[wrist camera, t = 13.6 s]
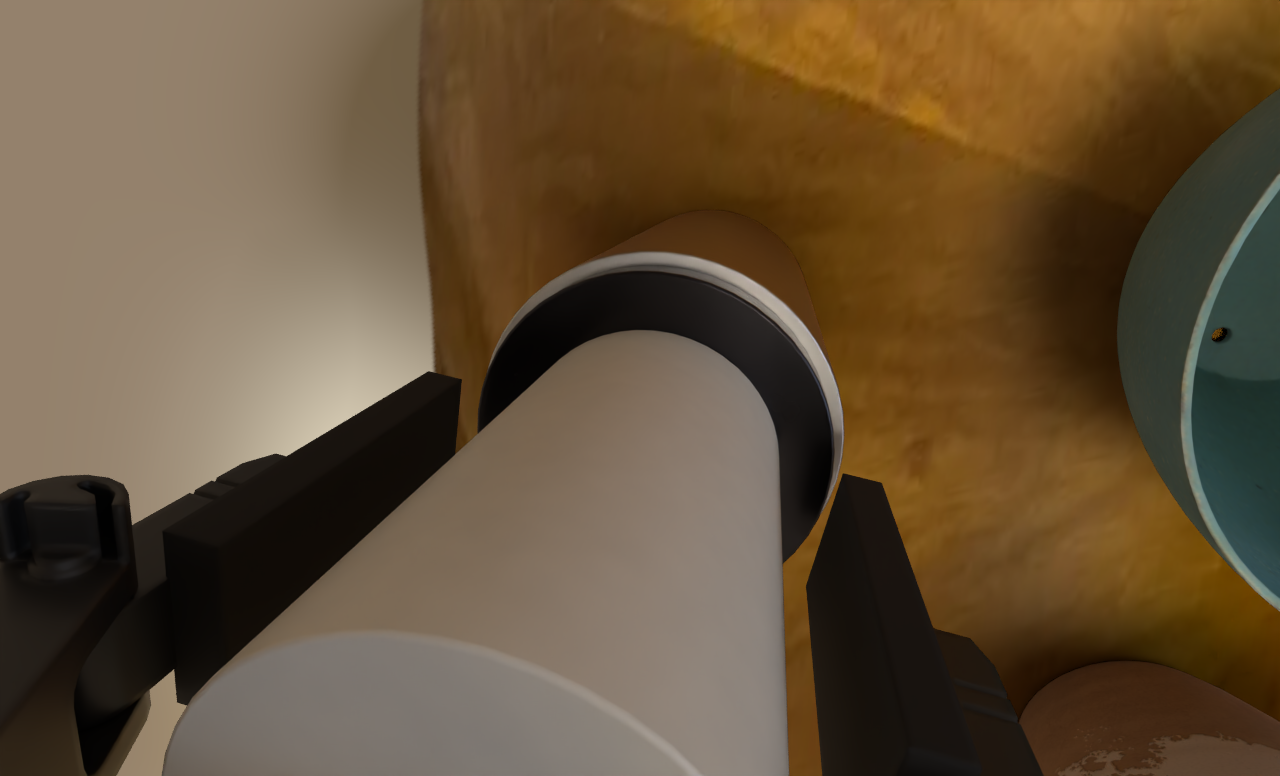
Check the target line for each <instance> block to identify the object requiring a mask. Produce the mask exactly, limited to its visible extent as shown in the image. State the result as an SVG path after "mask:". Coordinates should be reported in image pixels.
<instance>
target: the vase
mask: <svg viewBox="0 0 1280 776" xmlns="http://www.w3.org/2000/svg"><path fill="white" fill-rule="evenodd" d="M1019 724H1021V726H1022V728H1023V731H1024V733H1025V735H1026V737H1027V740H1028V742H1029V744H1030V746H1031V748H1032V751H1033V753H1034V755H1035V757H1036V760H1037V762H1038V764H1039V766H1040V768H1041V771H1042V773H1043V775H1044V776H1280V722H1279V721H1277V720H1275V719H1274V718H1272V717H1270V716H1268V715H1267V714H1265V713H1263V712H1261V711H1259V710H1258V709H1256V708H1254V707H1252V706H1251V705H1249V704H1247V703H1245V702H1243V701H1242V700H1240V699H1238V698H1236V697H1235V696H1233V695H1231V694H1229V693H1227V692H1226V691H1224V690H1222V689H1220V688H1218V687H1215V686H1213V685H1211V684H1209V683H1207V682H1205V681H1202V680H1200V679H1198V678H1196V677H1194V676H1191V675H1189V674H1187V673H1185V672H1182V671H1179V670H1176V669H1173V668H1170V667H1167V666H1163V665H1159V664H1154V663H1148V662H1140V661H1111V662H1104V663H1098V664H1092V665H1089V666H1085V667H1082V668H1078V669H1075V670H1073V671H1071V672H1068V673H1066V674H1064V675H1061V676H1060V677H1058V678H1056V679H1055V680H1053V681H1051V682H1050V683H1048V684H1047V685H1046V686H1045V687H1043V688H1042V689H1041V690H1040V691H1038V692H1037V693H1036V695H1035V696H1034V697H1033V698H1032V699H1031V700H1030V701H1029V703H1028V704H1027V706H1026V708H1025V709H1024V711H1023V713H1022V715H1021V718H1020V721H1019Z"/></svg>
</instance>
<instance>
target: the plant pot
mask: <svg viewBox="0 0 1280 776" xmlns="http://www.w3.org/2000/svg"><path fill="white" fill-rule="evenodd" d="M1219 328H1225V329H1227V331H1228V332H1227V336H1226V337H1225V338H1224V339H1223V340H1222V341H1218V342H1214V341H1213V340H1212V334H1213V333H1214V331H1215V330H1216V329H1219ZM1117 346H1118V357H1119V365H1120V373H1121V378H1122V383H1123V387H1124V391H1125V395H1126V398H1127V402H1128V405H1129V409H1130V412H1131V414H1132V417H1133V420H1134V423H1135V425H1136V428H1137V431H1138V433H1139V435H1140V438H1141V440H1142V442H1143V444H1144V447H1145V449H1146V451H1147V453H1148V454H1149V456H1150V458H1151V460H1152V462H1153V464H1154V466H1155V468H1156V470H1157V471H1158V473H1159V474H1160V476H1161V478H1162V479H1163V481H1164V482H1165V484H1166V486H1167V487H1168V489H1169V490H1170V492H1171V494H1172V495H1173V497H1174V498H1175V500H1176V501H1177V502H1178V504H1179V505H1180V507H1181V508H1182V510H1183V511H1184V512H1185V514H1186V515H1187V517H1188V518H1189V519H1190V520H1191V522H1192V523H1193V524H1194V525H1195V527H1196V528H1197V529H1198V530H1199V531H1200V533H1201V534H1202V535H1203V536H1204V537H1205V539H1206V540H1207V541H1208V542H1209V544H1210V545H1211V546H1212V547H1213V548H1214V549H1215V550H1216V551H1217V552H1218V554H1219V555H1220V556H1221V557H1222V558H1223V559H1224V560H1225V561H1226V562H1227V563H1228V564H1229V566H1230V567H1231V568H1232V569H1233V570H1235V571H1236V572H1237V573H1238V574H1239V575H1240V576H1241V577H1242V578H1243V579H1244V580H1245V581H1246V582H1247V583H1248V584H1249V585H1250V586H1251V587H1252V588H1253V589H1254V590H1255V591H1256V592H1257V593H1258V594H1259V595H1261V596H1262V597H1263V598H1264V599H1265V600H1266V601H1267V602H1269V603H1270V604H1271V605H1272V606H1273V607H1275V608H1276V609H1277V610H1278V611H1280V89H1278V90H1277V91H1275V92H1274V93H1273V94H1271V95H1270V96H1268V97H1267V98H1266V99H1264V100H1263V101H1262V102H1261V103H1259V104H1258V105H1257V106H1255V107H1254V108H1253V109H1252V110H1250V111H1249V112H1248V113H1246V114H1245V115H1244V116H1243V117H1242V118H1240V119H1239V120H1238V121H1237V122H1236V123H1235V124H1233V125H1232V126H1231V127H1230V128H1229V129H1227V130H1226V131H1225V132H1224V133H1223V134H1222V135H1221V136H1220V137H1219V138H1218V139H1216V140H1215V141H1214V142H1213V143H1212V144H1211V145H1210V146H1209V147H1208V148H1207V149H1206V150H1205V151H1204V152H1203V153H1202V154H1201V155H1200V156H1199V157H1198V158H1197V160H1196V161H1195V162H1194V163H1193V164H1192V165H1191V166H1190V167H1189V168H1188V169H1187V170H1186V171H1185V173H1184V174H1183V175H1182V176H1181V177H1180V178H1179V180H1178V181H1177V182H1176V183H1175V185H1174V186H1173V187H1172V189H1171V190H1170V191H1169V193H1168V194H1167V195H1166V197H1165V198H1164V199H1163V201H1162V202H1161V204H1160V205H1159V206H1158V208H1157V209H1156V211H1155V212H1154V214H1153V216H1152V217H1151V219H1150V221H1149V222H1148V224H1147V226H1146V228H1145V230H1144V232H1143V234H1142V235H1141V237H1140V239H1139V241H1138V243H1137V246H1136V248H1135V250H1134V253H1133V255H1132V258H1131V261H1130V264H1129V267H1128V270H1127V273H1126V276H1125V280H1124V283H1123V287H1122V292H1121V297H1120V303H1119V311H1118V325H1117Z"/></svg>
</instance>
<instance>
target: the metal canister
mask: <svg viewBox="0 0 1280 776" xmlns="http://www.w3.org/2000/svg"><path fill="white" fill-rule="evenodd" d="M631 330H653V331H660V332H666V333H672V334H676V335H679V336H682V337H686V338H689V339H692V340H694V341H696V342H698V343H701V344H703V345H705V346H707V347H709V348H711V349H712V350H714V351H716V352H717V353H719V354H721V355H722V356H723V357H725V358H726V359H727V360H728V361H730V362H731V363H732V364H734V365H735V366H736V367H737V368H738V369H739V370H740V371H741V372H742V373H743V374H744V375H745V376H746V377H747V378H748V379H749V380H750V382H751V383H752V384H753V386H754V387H755V389H756V390H757V391H758V393H759V394H760V396H761V398H762V399H763V401H764V403H765V405H766V407H767V408H768V411H769V413H770V416H771V418H772V421H773V424H774V427H775V431H776V436H777V440H778V449H779V468H780V500H781V532H782V564H783V563H784V562H785V561H786V560H787V559H788V558H789V557H790V556H791V555H793V554H794V553H795V551H796V550H797V549H798V548H799V546H800V545H801V544H802V543H803V541H804V540H805V539H806V538H807V537H808V535H809V533H810V532H811V530H812V528H813V527H814V525H815V523H816V522H817V520H818V518H819V516H820V514H821V513H822V511H823V509H824V507H825V506H826V504H827V502H828V500H829V498H830V496H831V493H832V491H833V488H834V486H835V483H836V481H837V477H838V473H839V469H840V465H841V461H842V454H843V443H844V421H843V409H842V404H841V399H840V394H839V389H838V386H837V382H836V379H835V376H834V373H833V369H832V366H831V363H830V360H829V356H828V353H827V350H826V347H825V344H824V340H823V337H822V334H821V331H820V327H819V324H818V321H817V318H816V314H815V311H814V308H813V305H812V301H811V298H810V295H809V292H808V288H807V285H806V282H805V279H804V276H803V273H802V271H801V268H800V266H799V264H798V262H797V260H796V258H795V257H794V255H793V254H792V252H791V251H790V250H789V248H788V247H787V246H786V245H785V243H784V242H783V241H782V240H781V239H780V238H779V237H778V236H777V235H776V234H774V233H773V232H772V231H771V230H769V229H768V228H767V227H765V226H763V225H762V224H760V223H758V222H757V221H755V220H753V219H750V218H748V217H746V216H743V215H740V214H736V213H732V212H727V211H720V210H700V211H693V212H688V213H684V214H681V215H677V216H675V217H672V218H670V219H668V220H665V221H663V222H661V223H659V224H657V225H656V226H654V227H652V228H650V229H648V230H646V231H644V232H642V233H640V234H638V235H636V236H634V237H632V238H630V239H628V240H626V241H624V242H622V243H620V244H619V245H617V246H615V247H613V248H611V249H609V250H607V251H605V252H603V253H601V254H599V255H597V256H595V257H593V258H591V259H589V260H587V261H585V262H584V263H582V264H580V265H578V266H576V267H574V268H572V269H570V270H568V271H566V272H565V273H563V274H562V275H560V276H558V277H557V278H555V279H553V280H552V281H550V282H548V283H547V284H546V285H545V286H544V287H542V288H541V289H540V290H539V291H537V292H536V293H535V294H534V295H533V296H531V297H530V298H529V300H528V301H527V302H526V303H525V304H524V305H523V306H522V307H521V308H520V309H519V310H518V312H517V313H516V314H515V315H514V317H513V318H512V320H511V321H510V323H509V324H508V326H507V327H506V328H505V330H504V331H503V333H502V335H501V337H500V339H499V342H498V344H497V346H496V348H495V350H494V352H493V355H492V358H491V361H490V364H489V367H488V371H487V374H486V377H485V381H484V384H483V387H482V391H481V397H480V403H479V408H478V433H479V432H481V431H482V430H483V429H484V428H485V427H486V426H487V425H488V424H489V423H490V422H491V421H493V420H494V419H495V418H496V417H497V416H498V415H499V414H500V413H501V412H502V411H504V410H505V409H506V408H507V407H508V406H509V405H510V404H511V403H512V402H513V401H514V400H516V399H517V398H518V397H519V396H520V395H521V394H522V393H523V392H524V391H525V390H527V389H528V388H529V387H530V386H531V385H532V384H533V383H534V382H535V381H536V380H537V379H539V378H540V377H541V376H542V375H543V374H544V373H545V372H546V371H547V370H548V369H549V368H551V367H552V366H553V365H554V364H555V363H556V362H557V361H558V360H559V359H561V358H562V357H563V356H565V355H566V354H567V353H569V352H570V351H571V350H573V349H574V348H576V347H578V346H580V345H582V344H583V343H585V342H587V341H590V340H592V339H595V338H597V337H600V336H603V335H607V334H611V333H616V332H621V331H631Z"/></svg>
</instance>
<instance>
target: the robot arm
mask: <svg viewBox="0 0 1280 776" xmlns="http://www.w3.org/2000/svg"><path fill="white" fill-rule="evenodd" d="M461 383H462V379H458V378H454V377H450V376H446V375H441V374H437V373H433V372H427V373H425V374H423V375H422V376H420V377H418V378H417V379H415V380H413V381H412V382H410V383H408V384H407V385H405V386H403V387H402V388H400V389H398V390H397V391H395V392H393V393H392V394H390V395H388V396H387V397H385V398H383V399H382V400H380V401H378V402H376V403H375V404H373V405H372V406H370V407H368V408H366V409H365V410H363V411H361V412H360V413H358V414H357V415H355V416H353V417H351V418H350V419H348V420H347V421H345V422H343V423H342V424H340V425H338V426H337V427H335V428H333V429H331V430H330V431H328V432H326V433H325V434H323V435H321V436H320V437H318V438H316V439H315V440H313V441H311V442H310V443H308V444H306V445H305V446H303V447H301V448H300V449H298V450H296V451H295V452H293V453H291V454H290V455H288V456H283V455H279V454H273V455H270V456H266V457H262V458H259V459H256V460H252V461H249V462H246V463H242V464H240V465H239V466H237V467H235V468H233V469H232V470H230V471H228V472H227V473H225V474H223V475H221V476H219V477H217V479H216V481H215V482H214V481H210V482H208V483H207V484H205V485H203V486H201V487H200V488H198V489H196V490H195V492H194V494H191V493H189V494H187V495H185V496H184V497H182V498H180V499H178V500H176V501H175V502H173V503H171V504H169V505H167V506H166V507H164V508H162V509H160V510H159V511H157V512H155V513H153V514H151V515H150V516H148V517H146V518H144V519H143V520H141V521H139V522H137V523H135V524H134V525H132V522H131V512H130V503H129V494H128V492H127V490H126V488H125V487H124V485H123V484H121V483H119V482H117V481H115V480H113V479H110V478H106V477H99V476H91V475H75V476H59V477H53V478H48V479H42V480H37V481H32V482H29V483H26V484H23V485H20V486H18V487H14V488H11V489H8V490H7V491H5V492H3V493H1V494H0V776H116V775H117V773H118V772H119V770H120V768H121V766H122V764H123V762H124V761H125V759H126V757H127V755H128V753H129V751H130V750H131V748H132V745H133V744H134V742H135V741H136V739H137V737H138V735H139V733H140V731H141V730H142V728H143V726H144V724H145V722H146V720H147V717H148V714H149V710H150V706H151V701H150V691H149V690H150V689H151V688H152V687H153V686H155V685H156V684H157V683H158V682H159V681H160V680H162V679H163V678H164V677H165V676H166V675H168V674H169V673H170V672H171V671H172V670H173V669H174V672H175V683H176V695H177V702H178V703H181V704H184V705H188V704H189V702H190V701H191V699H192V698H193V696H194V695H195V694H196V693H197V692H198V691H199V690H200V689H201V688H202V687H203V686H204V685H205V684H206V683H207V682H208V681H209V680H210V679H211V677H212V676H213V675H215V674H216V673H217V672H218V671H219V670H220V669H221V668H222V667H223V666H224V665H226V664H227V663H228V662H229V661H230V660H231V659H232V658H233V657H234V656H235V655H236V654H238V653H239V652H240V651H241V650H242V649H243V648H244V647H245V646H246V645H247V644H249V643H250V642H251V641H252V640H253V639H254V638H255V637H256V636H257V635H258V634H259V633H261V632H262V631H263V630H264V629H265V628H266V627H267V626H268V625H269V624H270V623H272V622H273V621H274V620H275V619H276V618H277V617H278V616H279V615H280V614H281V613H282V612H284V611H285V610H286V609H287V608H288V607H289V606H290V605H291V604H292V603H293V602H294V601H296V600H297V599H298V598H299V597H300V596H301V595H302V594H303V593H304V592H305V591H307V590H308V589H309V588H310V587H311V586H312V585H313V584H314V583H315V582H316V581H317V580H319V579H320V578H321V577H322V576H323V575H324V574H325V573H326V572H327V571H328V570H330V569H331V568H332V567H333V566H334V565H335V564H336V563H337V562H338V561H339V560H340V559H342V558H343V557H344V556H345V555H346V554H347V553H348V552H349V551H350V550H351V549H352V548H354V547H355V546H356V545H357V544H358V543H359V542H360V541H361V540H362V539H363V538H365V537H366V536H367V535H368V534H369V533H370V532H371V531H372V530H373V529H374V528H375V527H377V526H378V525H379V524H380V523H381V522H382V521H383V520H384V519H385V518H386V517H388V516H389V515H390V514H391V513H392V512H393V511H394V510H395V509H396V508H397V507H398V506H400V505H401V504H402V503H403V502H404V501H405V500H406V499H407V498H408V497H409V496H410V495H412V494H413V493H414V492H415V491H416V490H417V489H418V488H419V487H420V486H421V485H423V484H424V483H425V482H426V481H427V480H428V479H429V478H430V477H431V476H432V475H433V474H435V473H436V472H437V471H438V470H439V469H440V468H441V467H442V466H443V465H444V464H446V463H447V462H448V461H449V460H450V459H451V458H452V457H453V456H454V455H455V448H456V437H457V426H458V415H459V404H460V393H461ZM806 590H807V602H808V613H809V625H810V636H811V648H812V660H813V671H814V683H815V694H816V706H817V717H818V729H819V741H820V752H821V764H822V775H823V776H1044V775H1043V773H1042V771H1041V768H1040V766H1039V764H1038V762H1037V760H1036V757H1035V755H1034V753H1033V751H1032V748H1031V746H1030V744H1029V742H1028V740H1027V737H1026V735H1025V733H1024V731H1023V728H1022V726H1021V724H1018V723H1017V720H1018V717H1017V715H1016V713H1015V711H1014V708H1013V706H1012V704H1011V702H1010V700H1008V699H1007V693H1006V691H1005V688H1004V686H1003V684H1002V682H1001V679H1000V677H999V675H998V673H997V671H996V668H995V666H994V665H993V664H992V663H991V662H990V660H989V659H988V658H987V657H986V656H985V655H984V654H983V653H982V651H981V650H980V649H979V648H978V647H977V646H976V645H975V644H974V642H973V641H972V640H971V639H970V638H967V637H963V636H960V635H956V634H952V633H949V632H945V631H941V630H937V629H934V628H933V627H932V624H931V621H930V618H929V615H928V613H927V610H926V607H925V604H924V601H923V598H922V596H921V593H920V590H919V587H918V584H917V581H916V579H915V576H914V573H913V570H912V567H911V565H910V562H909V559H908V556H907V553H906V550H905V548H904V545H903V542H902V539H901V536H900V533H899V531H898V528H897V525H896V522H895V519H894V516H893V514H892V511H891V508H890V505H889V502H888V499H887V497H886V494H885V491H884V488H883V485H882V483H880V482H876V481H872V480H868V479H864V478H860V477H856V476H852V475H848V474H844V473H843V475H842V478H841V481H840V484H839V487H838V490H837V493H836V496H835V499H834V502H833V506H832V509H831V512H830V515H829V518H828V521H827V524H826V527H825V530H824V533H823V536H822V539H821V542H820V545H819V548H818V551H817V554H816V557H815V560H814V563H813V566H812V569H811V572H810V576H809V579H808V582H807V585H806Z"/></svg>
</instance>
